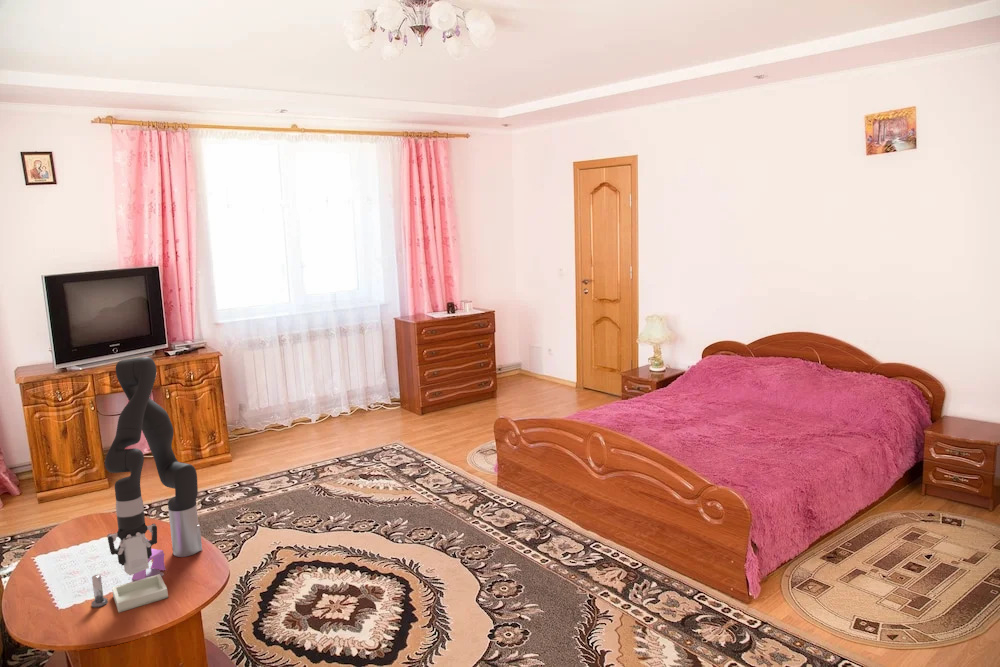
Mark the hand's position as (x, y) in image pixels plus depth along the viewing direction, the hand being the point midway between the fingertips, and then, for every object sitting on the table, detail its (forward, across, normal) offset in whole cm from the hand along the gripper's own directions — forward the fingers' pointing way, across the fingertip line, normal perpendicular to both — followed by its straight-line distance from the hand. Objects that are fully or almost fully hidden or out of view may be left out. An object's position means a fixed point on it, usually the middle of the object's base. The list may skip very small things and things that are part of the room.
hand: (135, 560), depth 220 cm
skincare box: (+3, 0, 0) cm, 3 cm away
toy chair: (+13, -5, -14) cm, 20 cm away
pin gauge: (+12, +11, -3) cm, 17 cm away
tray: (+12, 0, 0) cm, 12 cm away
